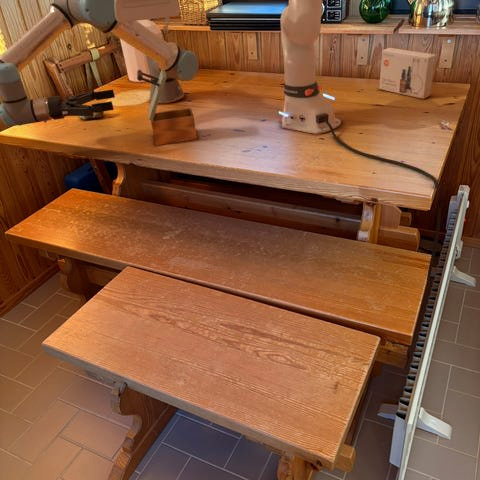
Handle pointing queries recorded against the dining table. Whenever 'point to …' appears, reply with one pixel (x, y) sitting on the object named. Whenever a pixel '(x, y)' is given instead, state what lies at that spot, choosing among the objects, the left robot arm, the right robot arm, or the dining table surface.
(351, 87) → the dining table surface
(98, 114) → the rock
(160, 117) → the chest
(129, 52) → the container
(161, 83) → the lid
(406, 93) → the skincare box
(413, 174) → the dining table surface
